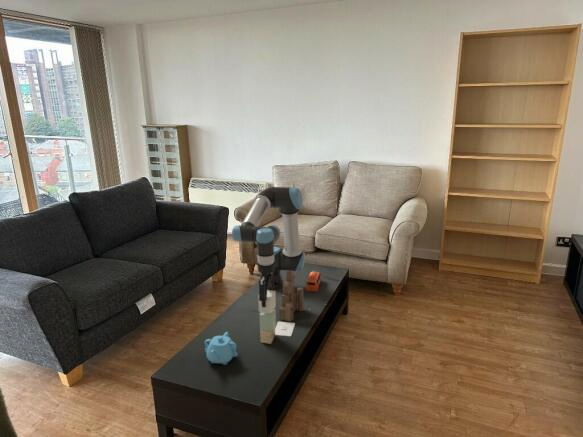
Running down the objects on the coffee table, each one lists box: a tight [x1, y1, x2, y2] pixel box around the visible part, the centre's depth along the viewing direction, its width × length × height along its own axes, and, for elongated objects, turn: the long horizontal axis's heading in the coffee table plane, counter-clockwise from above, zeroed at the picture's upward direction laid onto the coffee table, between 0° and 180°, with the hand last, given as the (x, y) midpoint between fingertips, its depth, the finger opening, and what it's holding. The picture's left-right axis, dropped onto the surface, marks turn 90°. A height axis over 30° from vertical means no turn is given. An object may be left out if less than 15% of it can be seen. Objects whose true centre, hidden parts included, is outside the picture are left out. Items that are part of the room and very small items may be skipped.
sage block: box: [259, 309, 277, 331], centre depth 191 cm, size 6×6×8 cm
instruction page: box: [275, 321, 296, 337], centre depth 201 cm, size 12×9×1 cm
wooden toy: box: [278, 270, 304, 323], centre depth 212 cm, size 16×7×25 cm, turn 150°
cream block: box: [257, 290, 277, 313], centre depth 188 cm, size 7×6×8 cm
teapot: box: [204, 331, 239, 366], centre depth 176 cm, size 13×14×11 cm
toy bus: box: [305, 271, 322, 293], centre depth 247 cm, size 7×18×7 cm, turn 168°
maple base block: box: [259, 326, 276, 344], centre depth 192 cm, size 7×5×6 cm
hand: (267, 308), depth 189 cm, fingers closed on cream block, 7 cm apart
